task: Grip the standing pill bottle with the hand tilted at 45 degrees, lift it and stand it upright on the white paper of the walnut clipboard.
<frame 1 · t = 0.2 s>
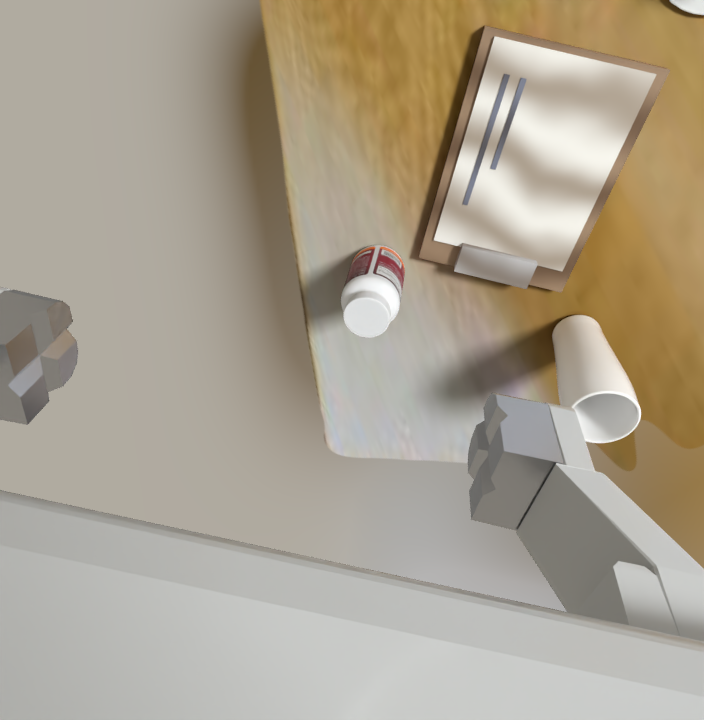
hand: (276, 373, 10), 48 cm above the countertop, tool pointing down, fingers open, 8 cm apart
pill bottle: (379, 267, 62), on the countertop
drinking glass: (575, 331, 62), on the countertop
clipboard: (526, 172, 53), on the countertop
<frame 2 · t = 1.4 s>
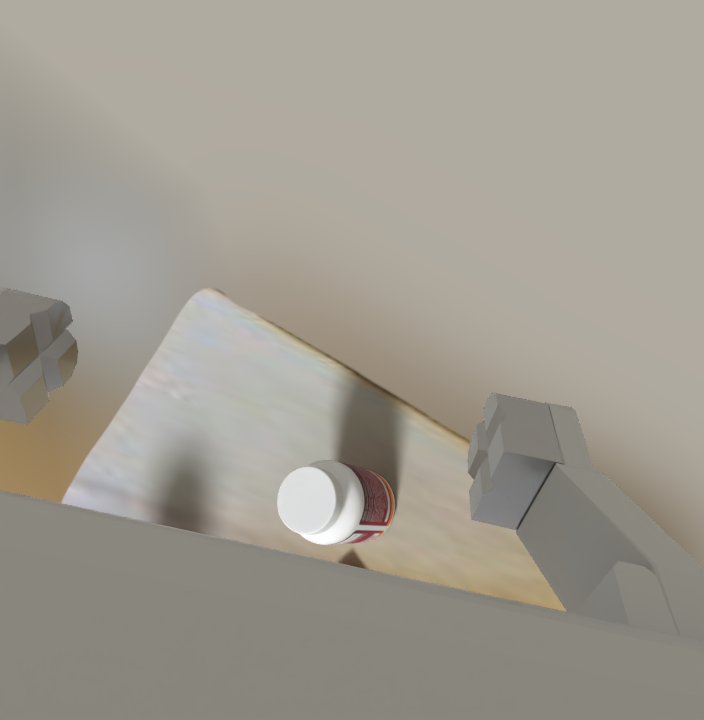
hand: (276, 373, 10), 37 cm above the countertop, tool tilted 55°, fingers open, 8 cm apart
pill bottle: (364, 506, 47), on the countertop
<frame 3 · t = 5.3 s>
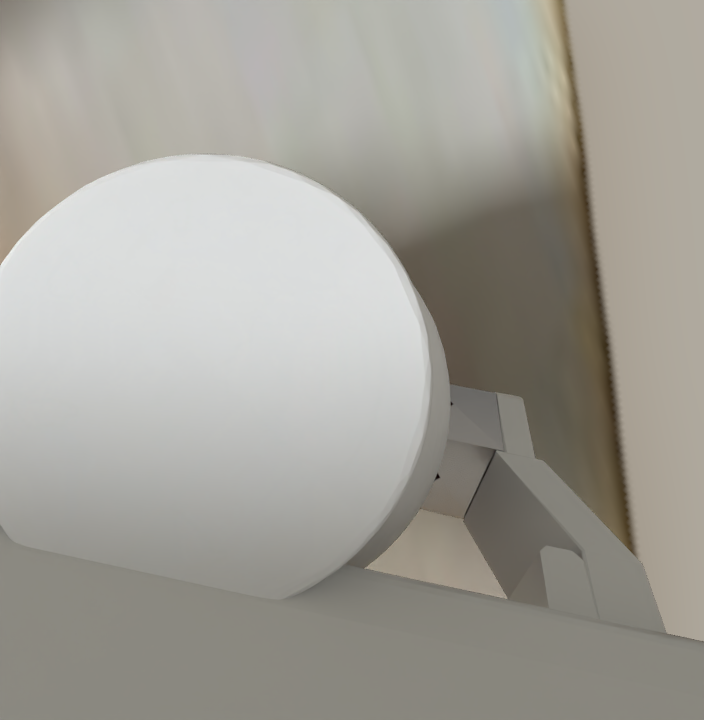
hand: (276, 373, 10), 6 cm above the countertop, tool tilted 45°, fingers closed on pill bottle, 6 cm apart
pill bottle: (297, 418, 16), on the countertop, touching gripper
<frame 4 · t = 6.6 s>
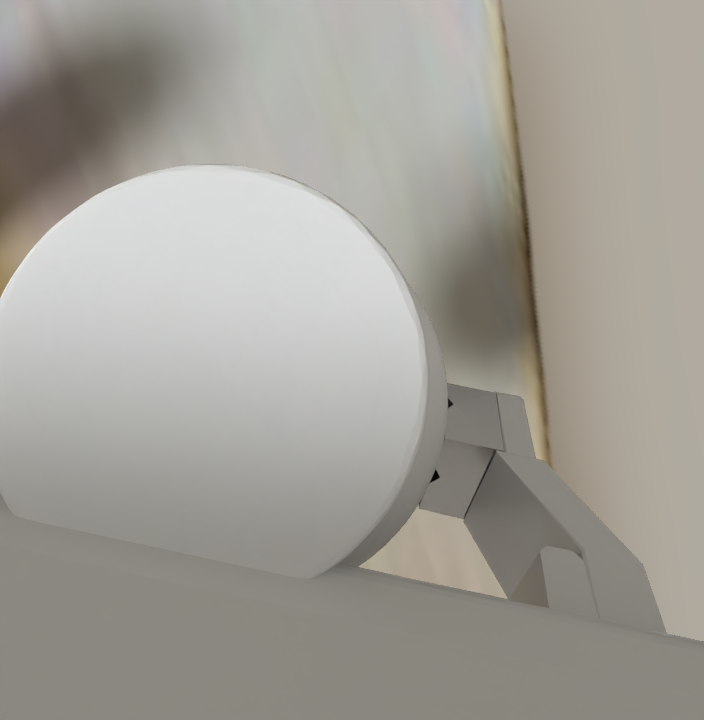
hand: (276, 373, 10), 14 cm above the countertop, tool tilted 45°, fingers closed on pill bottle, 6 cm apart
pill bottle: (298, 416, 17), point 8 cm above the countertop, touching gripper
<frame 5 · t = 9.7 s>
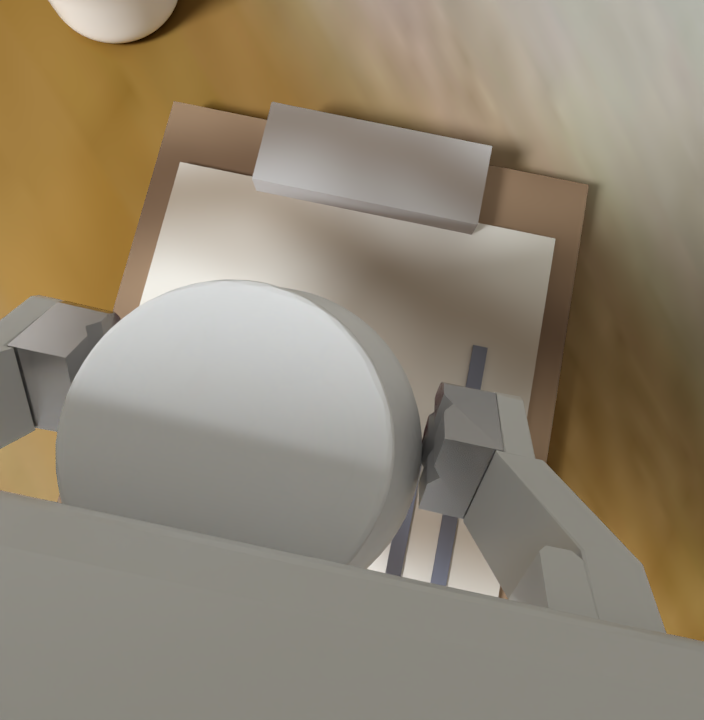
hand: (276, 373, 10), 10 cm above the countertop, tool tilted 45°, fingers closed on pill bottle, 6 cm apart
pill bottle: (302, 441, 18), point 1 cm above the countertop, touching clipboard, gripper
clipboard: (317, 430, 20), on the countertop
when the fingers open (9 cm above the countertop, at t = 10.4 s): pill bottle stays where it is, resting on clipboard.
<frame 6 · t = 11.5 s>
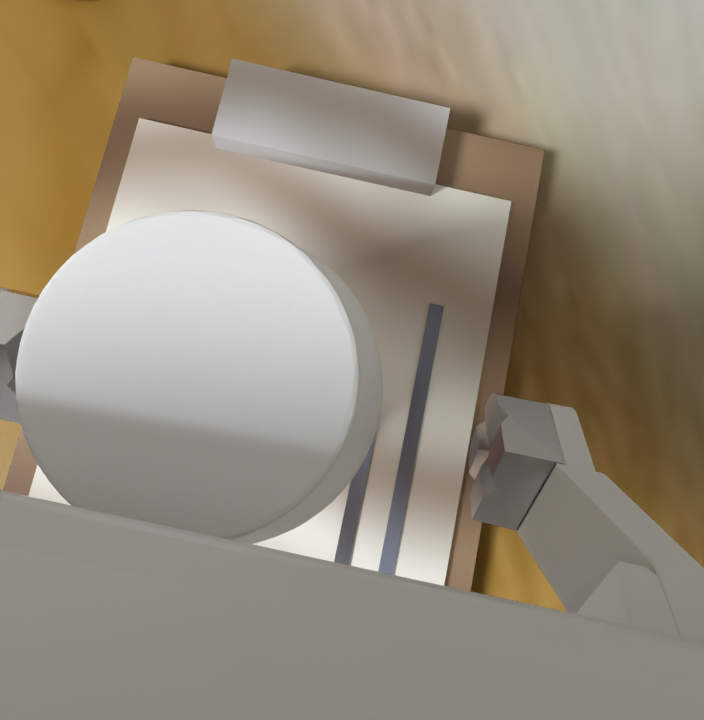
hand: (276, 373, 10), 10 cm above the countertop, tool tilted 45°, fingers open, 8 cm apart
pill bottle: (260, 396, 18), point 1 cm above the countertop, touching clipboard, gripper
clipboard: (277, 388, 20), on the countertop
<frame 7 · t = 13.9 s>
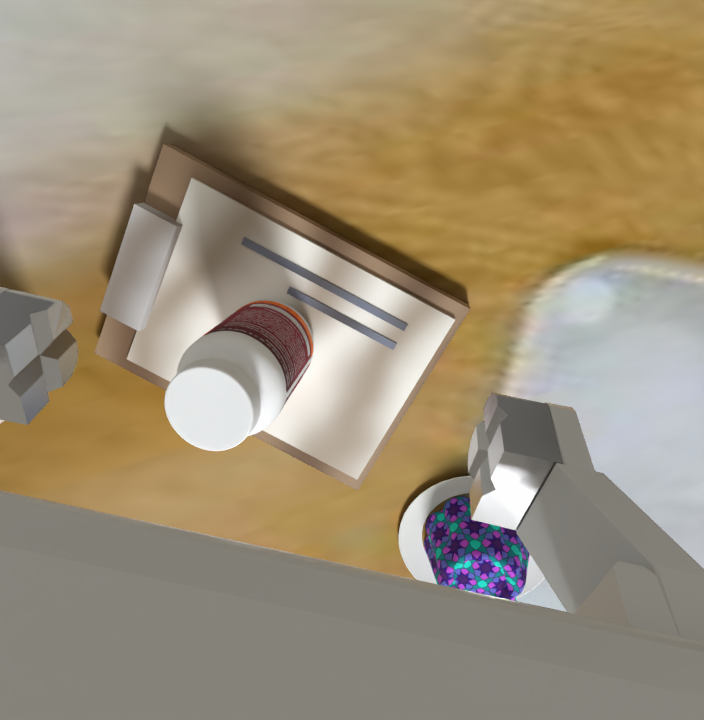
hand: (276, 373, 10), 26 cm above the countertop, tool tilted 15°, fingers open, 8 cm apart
pill bottle: (272, 340, 37), point 1 cm above the countertop, touching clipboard
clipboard: (274, 327, 38), on the countertop
pudding: (475, 535, 42), on the countertop
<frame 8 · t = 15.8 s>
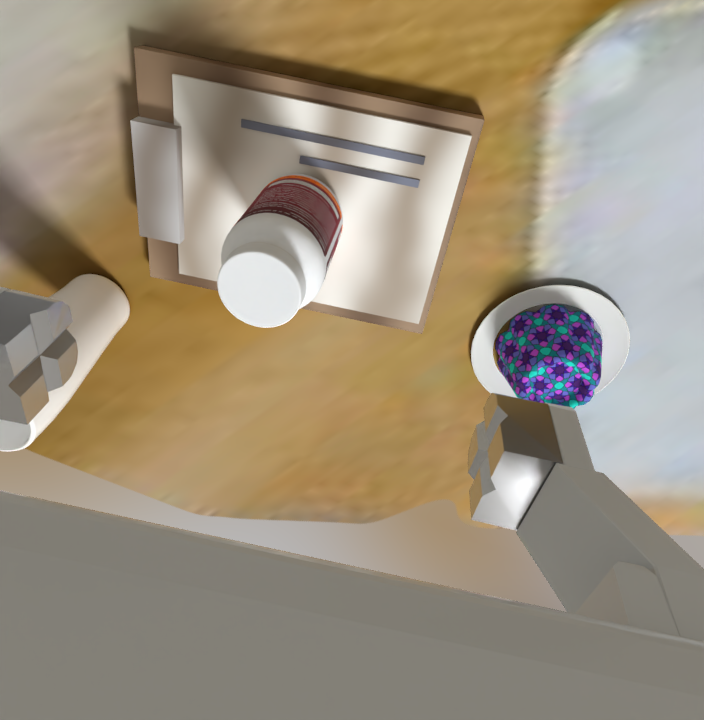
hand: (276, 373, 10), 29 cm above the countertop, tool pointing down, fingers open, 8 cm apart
pill bottle: (301, 215, 38), point 1 cm above the countertop, touching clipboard
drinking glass: (103, 298, 46), on the countertop
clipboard: (299, 202, 39), on the countertop
pudding: (546, 345, 43), on the countertop
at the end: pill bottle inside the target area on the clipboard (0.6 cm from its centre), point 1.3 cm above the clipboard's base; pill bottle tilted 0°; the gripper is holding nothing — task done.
